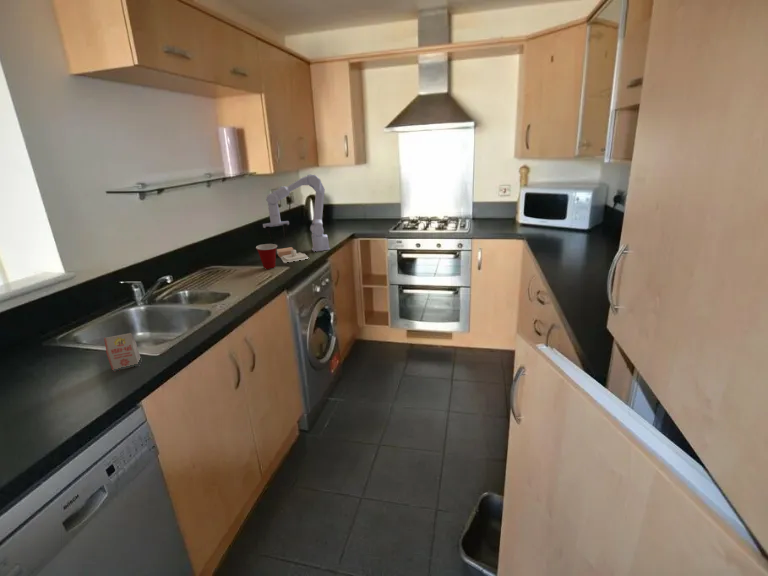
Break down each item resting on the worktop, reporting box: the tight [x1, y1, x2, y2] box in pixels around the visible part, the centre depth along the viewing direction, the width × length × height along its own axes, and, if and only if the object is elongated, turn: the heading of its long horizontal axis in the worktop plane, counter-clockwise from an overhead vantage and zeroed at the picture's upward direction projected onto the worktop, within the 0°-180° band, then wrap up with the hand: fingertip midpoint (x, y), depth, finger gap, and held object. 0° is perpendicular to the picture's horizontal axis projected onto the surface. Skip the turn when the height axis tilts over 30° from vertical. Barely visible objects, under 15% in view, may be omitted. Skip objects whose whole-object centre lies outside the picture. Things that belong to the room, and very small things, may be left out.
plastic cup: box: [255, 243, 278, 270], centre depth 210 cm, size 11×11×12 cm
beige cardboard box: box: [103, 332, 142, 371], centre depth 117 cm, size 4×7×10 cm, turn 109°
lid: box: [282, 249, 308, 261], centre depth 227 cm, size 11×11×4 cm
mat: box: [280, 252, 309, 264], centre depth 227 cm, size 14×14×1 cm
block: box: [276, 246, 295, 258], centre depth 238 cm, size 9×9×3 cm
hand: (278, 238), depth 233 cm, fingers open, 7 cm apart
